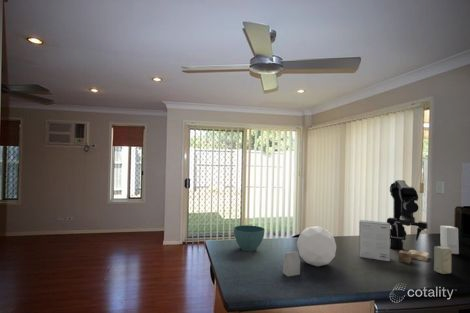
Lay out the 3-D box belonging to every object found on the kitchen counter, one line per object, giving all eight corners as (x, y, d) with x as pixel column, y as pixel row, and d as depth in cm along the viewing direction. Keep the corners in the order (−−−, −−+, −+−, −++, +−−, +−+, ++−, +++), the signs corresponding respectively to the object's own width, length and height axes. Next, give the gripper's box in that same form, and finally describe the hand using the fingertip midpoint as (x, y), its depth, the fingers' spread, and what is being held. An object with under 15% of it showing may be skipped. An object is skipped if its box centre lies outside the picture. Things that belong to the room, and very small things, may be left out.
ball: (304, 276, 144) (284, 240, 152) (333, 258, 151) (312, 225, 159) (321, 270, 128) (297, 230, 136) (352, 250, 135) (327, 214, 143)
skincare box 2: (442, 274, 135) (442, 248, 135) (433, 270, 139) (433, 246, 140) (451, 273, 137) (452, 248, 137) (442, 269, 141) (443, 245, 141)
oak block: (407, 257, 160) (407, 252, 160) (410, 254, 166) (410, 249, 167) (426, 261, 154) (426, 256, 154) (428, 258, 160) (428, 253, 161)
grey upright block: (299, 274, 129) (300, 252, 129) (287, 276, 126) (288, 254, 126) (294, 271, 132) (295, 250, 132) (282, 273, 129) (283, 251, 130)
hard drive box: (389, 257, 157) (389, 222, 158) (390, 261, 151) (390, 224, 151) (358, 253, 164) (359, 219, 165) (358, 257, 157) (359, 221, 158)
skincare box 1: (459, 254, 168) (459, 228, 169) (446, 253, 170) (446, 227, 170) (451, 250, 176) (451, 225, 177) (439, 249, 178) (439, 224, 178)
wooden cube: (398, 261, 152) (398, 252, 152) (400, 259, 156) (400, 250, 156) (409, 263, 149) (409, 254, 149) (410, 261, 153) (411, 252, 153)
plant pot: (228, 251, 159) (228, 229, 159) (239, 243, 176) (240, 223, 176) (258, 256, 152) (259, 233, 153) (267, 247, 169) (268, 227, 169)
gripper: (384, 209, 153) (384, 238, 153) (425, 214, 141) (425, 245, 141) (389, 207, 162) (388, 234, 161) (428, 211, 150) (427, 241, 149)
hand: (406, 238), depth 153 cm, fingers open, 9 cm apart
